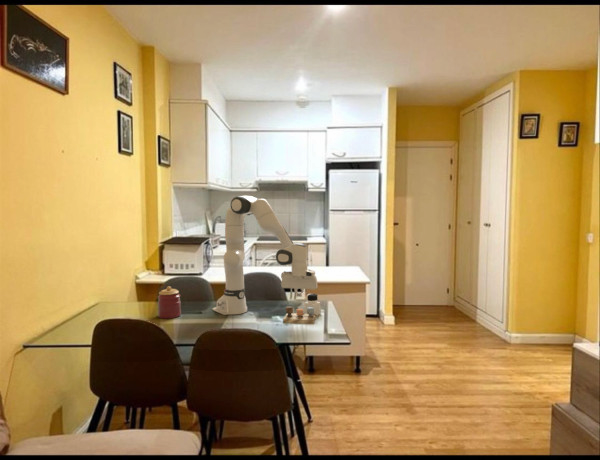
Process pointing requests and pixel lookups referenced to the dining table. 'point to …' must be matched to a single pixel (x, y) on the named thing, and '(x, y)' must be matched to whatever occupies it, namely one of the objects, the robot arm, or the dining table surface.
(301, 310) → the peach rounded knob
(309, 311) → the slate-blue button
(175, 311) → the canister
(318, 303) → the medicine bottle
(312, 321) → the button board
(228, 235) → the robot arm
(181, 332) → the dining table surface
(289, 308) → the brown rounded piece
